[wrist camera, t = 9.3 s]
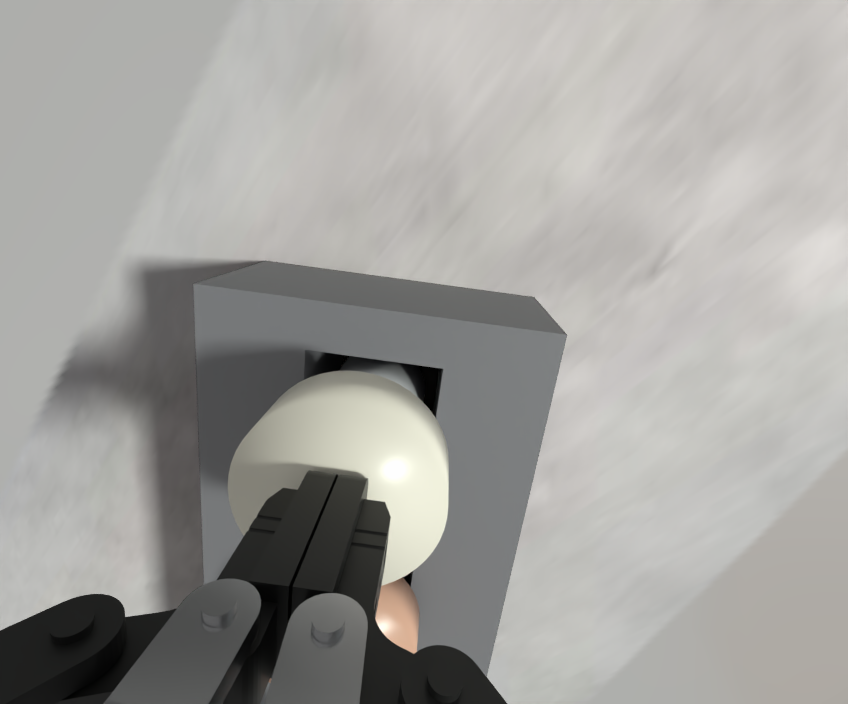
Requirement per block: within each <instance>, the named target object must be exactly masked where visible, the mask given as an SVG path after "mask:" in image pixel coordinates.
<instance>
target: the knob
mask: <svg viewBox="0 0 848 704" xmlns="http://www.w3.org/2000/svg"><path fill="white" fill-rule="evenodd" d="M424 395H425V383H424V378H423V375H422V372H421V371H420V369H419V367H418V366H417V365H412V364H405V363H398V362H391V361H383V360H376V359H369V358H362V357H355V356H350V357H349V358H348V359H347V360H346V361H345V362H344V364H343V365H342V367H341V368H340V370H339V371H333V372H327V373H322V374H318V375H315V376H312V377H309V378H307V379H305V380H303V381H301V382H299V383H297V384H296V385H294V386H293V387H291V388H290V389H288V390H287V391H286V392H285V393H284V394H283V395H282V396H280V397H279V399H278V400H277V401H276V402H275V403H274V404H273V405H272V407H271V408H270V409H269V410H268V411H267V412H266V413H265V414H264V416H263V417H262V418H261V419H260V420H259V421H258V422H257V423H256V425H255V426H254V427H253V428H252V429H251V430H250V431H249V433H248V434H247V435H246V436H245V437H244V439H243V440H242V441H241V443H240V445H239V446H238V448H237V450H236V452H235V454H234V457H233V459H232V462H231V465H230V470H229V474H228V496H229V502H230V506H231V510H232V513H233V516H234V518H235V521H236V523H237V525H238V527H239V529H240V531H241V532H242V534H243V535H245V534H246V532H247V531H249V527H250V526H251V524H252V522H253V521H254V519H255V518H257V514H258V513H259V511H260V509H261V508H262V506H263V505H264V503H265V501H266V500H267V499H268V498H270V497H271V496H272V495H274V494H275V493H277V492H278V491H279V490H281V489H282V488H289V489H296V490H298V488H299V486H300V484H301V482H302V481H303V479H304V477H305V475H306V473H307V472H308V471H309V470H311V471H318V472H325V473H332V474H338V476H339V475H348V476H355V477H362V478H368V492H367V499H368V500H375V501H382V502H385V503H386V506H387V508H388V511H389V513H390V516H391V520H390V528H389V536H388V544H387V553H386V561H385V568H384V574H383V579H382V585H385V584H388V583H391V582H394V581H396V580H398V579H400V578H402V577H404V576H406V575H408V574H409V573H411V572H412V571H413V570H415V569H416V568H418V567H419V566H420V565H421V564H422V563H423V562H424V561H425V560H426V559H427V558H428V557H429V556H430V554H431V553H432V552H433V551H434V549H435V548H436V546H437V544H438V543H439V541H440V539H441V536H442V534H443V532H444V529H445V525H446V521H447V515H448V490H449V457H448V448H447V444H446V439H445V437H444V434H443V431H442V429H441V427H440V425H439V423H438V421H437V419H436V418H435V416H434V415H433V414H432V412H431V411H430V409H429V408H428V407H427V406H426V405H425V404H424V403H423V402H424ZM382 585H381V586H382Z"/></svg>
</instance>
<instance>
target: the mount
mask: <svg viewBox="0 0 848 704" xmlns="http://www.w3.org/2000/svg"><path fill="white" fill-rule="evenodd" d="M193 294H194V322H195V350H196V378H197V407H198V435H199V463H200V491H201V520H202V548H203V576H204V585H205V584H207V583H209V582H212V581H216V580H217V578H218V577H219V575H220V574H221V572H222V570H223V569H224V567H225V566H226V564H227V562H228V561H229V559H230V558H231V556H232V554H233V553H234V551H235V550H236V548H237V546H238V545H239V543H240V542H241V540H242V538H243V537H244V535H243V534H242V532H241V531H240V529H239V527H238V525H237V523H236V521H235V518H234V516H233V513H232V510H231V506H230V502H229V496H228V474H229V470H230V465H231V462H232V459H233V457H234V454H235V452H236V450H237V448H238V446H239V445H240V443H241V441H242V440H243V439H244V437H245V436H246V435H247V434H248V433H249V431H250V430H251V429H252V428H253V427H254V426H255V425H256V423H257V422H258V421H259V420H260V419H261V418H262V417H263V416H264V414H265V413H266V412H267V411H268V410H269V409H270V408H271V407H272V405H273V404H274V403H275V402H276V401H277V400H278V399H279V397H280V396H282V395H283V394H284V393H285V392H286V391H287V390H288V389H290V388H291V387H293V386H294V385H296V384H297V383H299V382H301V381H303V380H305V379H307V378H309V377H312V376H315V375H318V374H322V373H327V372H333V371H339V370H340V368H341V364H342V355H347V356H355V357H362V358H369V359H376V360H383V361H391V362H398V363H405V364H412V365H419V366H427V367H434V368H439V372H438V379H437V386H436V393H435V400H434V407H433V413H432V414H433V415H434V416H435V418H436V419H437V421H438V423H439V425H440V427H441V429H442V431H443V434H444V437H445V439H446V444H447V448H448V457H449V490H448V515H447V521H446V525H445V529H444V532H443V534H442V536H441V539H440V541H439V543H438V544H437V546H436V548H435V549H434V551H433V552H432V553H431V554H430V556H429V557H428V558H427V559H426V560H425V561H424V562H423V563H422V564H421V565H420V566H419V567H418V568H416V569H415V570H413V571H412V572H411V573H409V574H408V575H406V576H404V577H403V578H404V579H405V581H406V582H407V583H408V584H409V586H410V587H411V589H412V590H413V592H414V594H415V596H416V599H417V602H418V605H419V613H420V616H419V629H418V642H417V651H419V650H420V649H423V648H425V647H428V646H432V645H445V646H450V647H453V648H456V649H458V650H460V651H462V652H463V653H465V654H466V655H468V656H469V657H470V658H471V659H472V660H473V661H474V662H475V663H476V664H477V665H478V667H479V668H480V669H481V671H482V672H483V673H484V675H485V676H486V677H487V673H488V668H489V664H490V660H491V656H492V651H493V647H494V643H495V639H496V635H497V630H498V626H499V622H500V618H501V613H502V609H503V605H504V601H505V596H506V592H507V588H508V584H509V579H510V575H511V571H512V567H513V562H514V558H515V554H516V550H517V545H518V541H519V537H520V533H521V528H522V524H523V520H524V516H525V511H526V507H527V503H528V499H529V495H530V490H531V486H532V482H533V478H534V473H535V469H536V465H537V461H538V456H539V452H540V448H541V444H542V439H543V435H544V431H545V427H546V422H547V418H548V414H549V410H550V405H551V401H552V397H553V393H554V388H555V384H556V380H557V376H558V372H559V367H560V363H561V359H562V355H563V350H564V346H565V342H566V338H567V334H566V333H565V332H564V331H563V330H562V328H561V327H560V326H559V325H558V324H557V323H556V322H555V320H554V319H553V318H552V317H551V316H550V315H549V314H548V312H547V311H546V310H545V309H544V308H543V307H542V306H541V304H540V303H539V302H538V301H537V300H536V299H535V297H528V296H521V295H513V294H506V293H499V292H491V291H484V290H477V289H469V288H462V287H454V286H447V285H440V284H432V283H425V282H418V281H410V280H403V279H396V278H388V277H381V276H374V275H366V274H359V273H352V272H344V271H337V270H329V269H322V268H315V267H307V266H300V265H293V264H285V263H278V262H271V261H264V262H261V263H257V264H254V265H251V266H248V267H245V268H241V269H238V270H235V271H232V272H229V273H225V274H222V275H219V276H216V277H213V278H209V279H206V280H203V281H200V282H197V283H193ZM269 686H270V683H269V682H268V685H267V687H266V690H265V693H264V695H263V698H262V701H261V703H260V704H264V703H265V699H266V696H267V692H268V689H269Z"/></svg>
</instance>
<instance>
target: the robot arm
mask: <svg viewBox="0 0 848 704" xmlns="http://www.w3.org/2000/svg"><path fill="white" fill-rule="evenodd" d="M367 492H368V478H362V477H355V476H348V475H339V476H338V474H332V473H325V472H318V471H311V470H309V471H308V472H307V473H306V475H305V477H304V479H303V481H302V482H301V484H300V486H299V488H298V490H296V489H289V488H282V489H281V490H279V491H278V492H277V493H275V494H274V495H272V496H271V497H270V498H268V499H267V500H266V501H265V503H264V505H263V506H262V508H261V509H260V511H259V513H258V514H257V518H255V519H254V521H253V522H252V524H251V526H250V527H249V531H247V532H246V534H245V535H244V537H243V538H242V540H241V542H240V543H239V545H238V546H237V548H236V550H235V551H234V553H233V554H232V556H231V558H230V559H229V561H228V562H227V564H226V566H225V567H224V569H223V570H222V572H221V574H220V575H219V577H218V578H217V580H216V581H212V582H209V583H207V584H205V585H203V586H201V587H199V588H197V589H196V590H194V591H193V592H192V593H190V594H189V595H188V596H187V597H186V598H185V599H184V600H183V602H182V603H181V604H180V605H179V607H178V608H177V609H174V610H170V611H165V612H159V613H152V614H145V615H138V616H130V617H125V611H124V607H123V605H122V604H121V602H120V601H119V600H117V599H116V598H114V597H112V596H109V595H104V594H90V595H84V596H79V597H76V598H73V599H70V600H67V601H65V602H62V603H60V604H58V605H56V606H53V607H51V608H49V609H47V610H45V611H42V612H40V613H38V614H36V615H34V616H31V617H29V618H27V619H25V620H23V621H20V622H18V623H16V624H14V625H12V626H9V627H7V628H5V629H3V630H1V631H0V704H260V703H261V701H262V698H263V695H264V693H265V690H266V687H267V685H268V682H269V680H270V678H272V679H271V682H270V686H269V689H268V692H267V696H266V699H265V703H264V704H507V703H506V702H505V700H504V699H503V698H502V696H501V695H500V694H499V693H498V691H497V690H496V689H495V687H494V686H493V685H492V684H491V682H490V681H489V680H488V678H487V677H486V676H485V675H484V673H483V672H482V671H481V669H480V668H479V667H478V665H477V664H476V663H475V662H474V661H473V660H472V659H471V658H470V657H469V656H468V655H466V654H465V653H463V652H462V651H460V650H458V649H456V648H453V647H450V646H445V645H432V646H428V647H425V648H423V649H420V650H419V651H417V652H416V653H414V654H413V653H411V652H410V651H408V650H406V649H404V648H402V647H400V646H398V645H396V644H395V643H393V642H392V641H390V640H389V639H388V638H387V637H386V636H385V635H384V634H383V633H382V631H381V630H380V628H379V626H378V624H377V622H376V619H375V618H376V612H377V607H378V601H379V596H380V590H381V585H382V579H383V574H384V568H385V561H386V553H387V544H388V536H389V528H390V520H391V516H390V513H389V511H388V508H387V506H386V503H385V502H382V501H375V500H368V499H367Z"/></svg>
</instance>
